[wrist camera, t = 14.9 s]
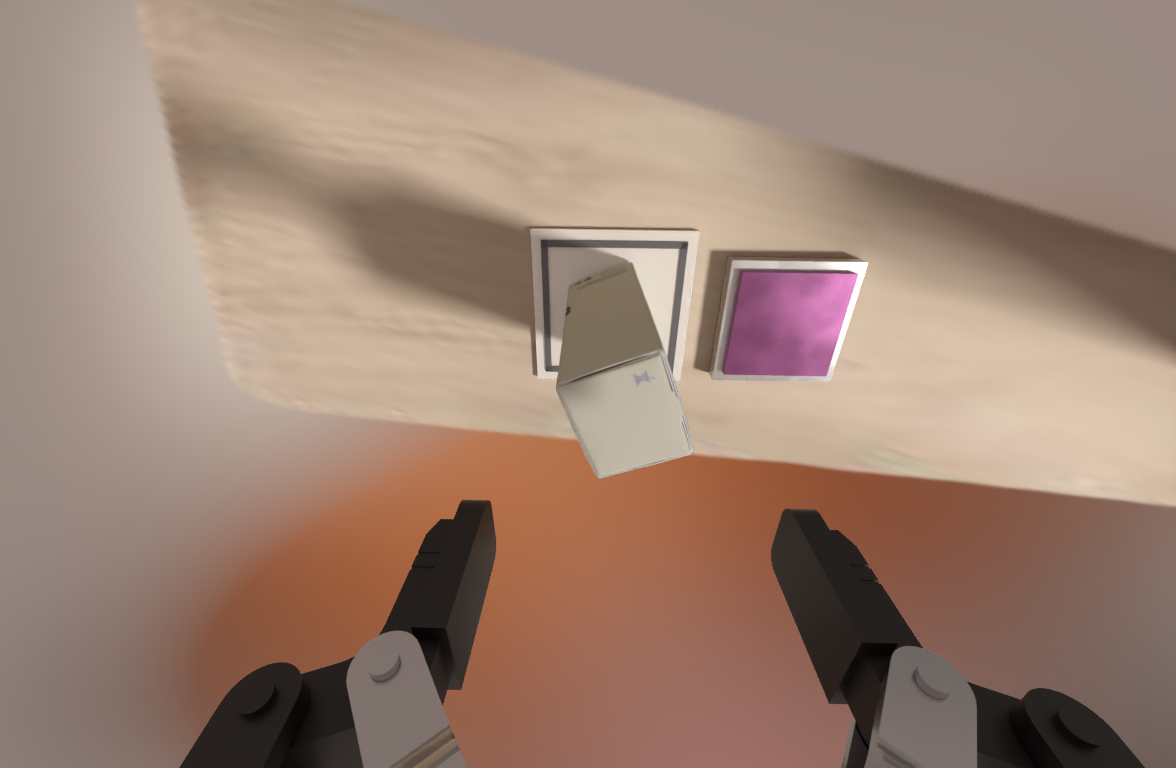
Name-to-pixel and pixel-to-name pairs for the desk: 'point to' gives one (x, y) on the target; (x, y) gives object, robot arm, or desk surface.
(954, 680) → the robot arm
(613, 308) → the box
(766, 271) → the ink pad
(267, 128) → the desk surface
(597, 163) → the desk surface
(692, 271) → the paper
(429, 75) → the desk surface
